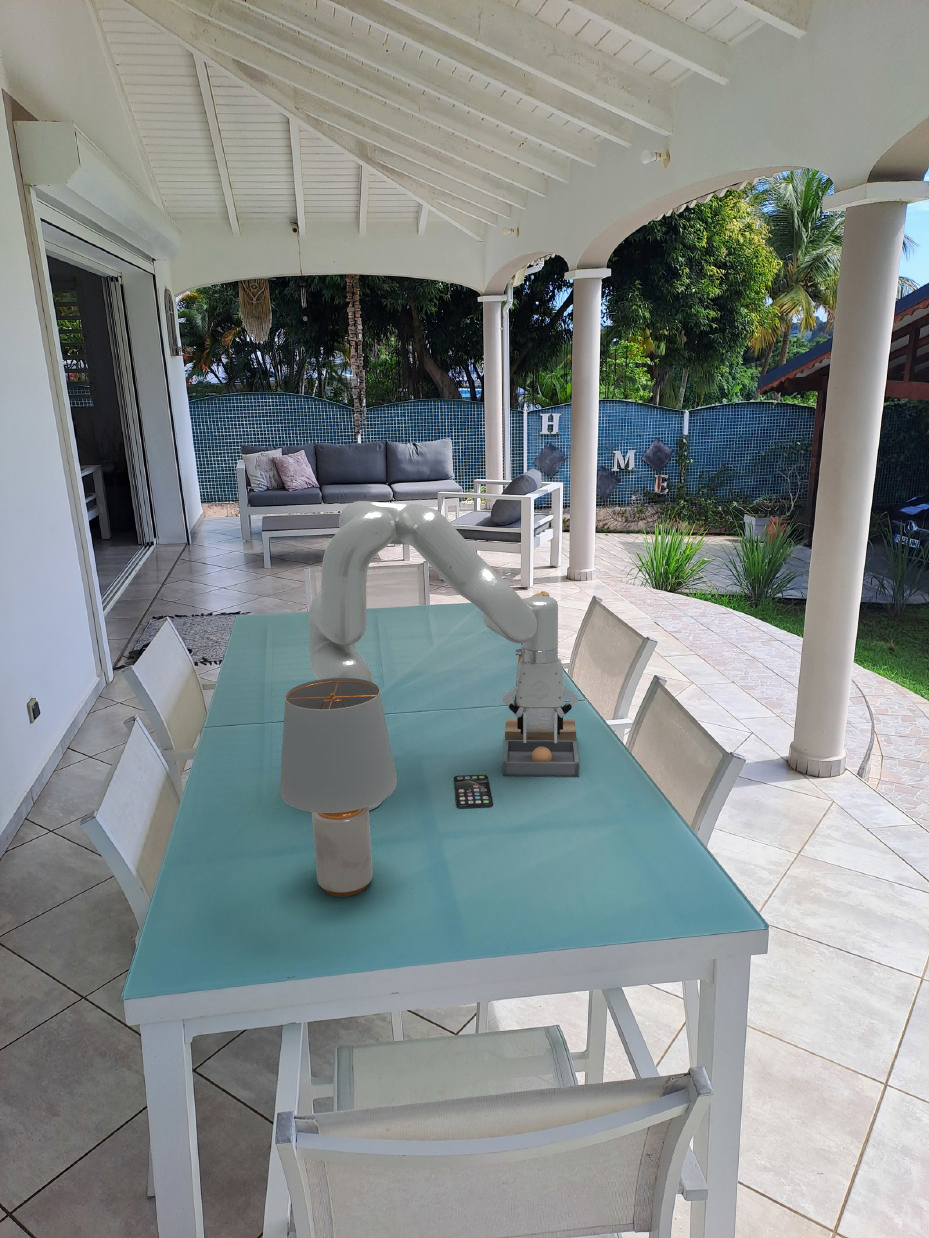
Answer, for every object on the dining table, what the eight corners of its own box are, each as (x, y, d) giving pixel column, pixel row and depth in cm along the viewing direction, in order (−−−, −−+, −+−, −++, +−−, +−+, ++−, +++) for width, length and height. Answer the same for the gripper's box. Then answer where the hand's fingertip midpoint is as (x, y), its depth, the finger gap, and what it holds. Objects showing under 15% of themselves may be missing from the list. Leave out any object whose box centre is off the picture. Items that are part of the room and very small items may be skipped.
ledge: (576, 752, 195) (576, 731, 194) (505, 751, 197) (504, 731, 195) (574, 738, 203) (574, 718, 202) (506, 738, 204) (506, 718, 203)
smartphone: (487, 774, 185) (493, 805, 171) (487, 777, 185) (493, 809, 171) (453, 775, 185) (456, 807, 170) (453, 778, 185) (456, 810, 171)
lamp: (403, 851, 155) (395, 671, 146) (399, 913, 137) (389, 712, 128) (297, 856, 155) (282, 675, 146) (279, 918, 136) (261, 716, 128)
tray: (578, 776, 183) (578, 763, 182) (503, 775, 185) (503, 762, 184) (576, 752, 195) (576, 740, 195) (505, 751, 197) (505, 739, 196)
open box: (557, 743, 185) (557, 712, 184) (523, 742, 186) (523, 712, 184) (556, 731, 192) (556, 701, 190) (523, 731, 192) (523, 701, 191)
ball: (551, 772, 186) (552, 755, 184) (530, 770, 186) (531, 754, 184) (551, 758, 190) (552, 743, 188) (531, 757, 190) (532, 741, 188)
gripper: (498, 659, 181) (499, 738, 185) (582, 659, 179) (581, 739, 184) (499, 649, 188) (500, 725, 193) (580, 649, 187) (579, 726, 191)
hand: (540, 731), depth 188 cm, fingers closed on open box, 7 cm apart
